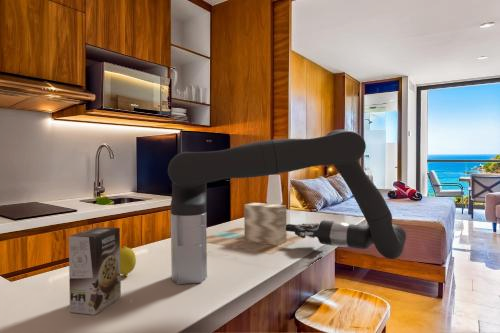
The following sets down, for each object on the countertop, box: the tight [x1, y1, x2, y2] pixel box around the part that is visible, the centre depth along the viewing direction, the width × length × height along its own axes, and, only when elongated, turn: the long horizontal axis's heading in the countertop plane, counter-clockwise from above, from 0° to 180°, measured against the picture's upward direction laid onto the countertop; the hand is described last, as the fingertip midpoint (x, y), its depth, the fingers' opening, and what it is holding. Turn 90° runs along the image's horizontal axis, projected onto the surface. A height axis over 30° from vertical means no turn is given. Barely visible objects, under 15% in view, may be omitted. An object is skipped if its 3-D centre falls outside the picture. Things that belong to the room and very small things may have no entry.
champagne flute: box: [266, 174, 283, 205], centre depth 139 cm, size 7×7×24 cm
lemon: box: [120, 245, 137, 277], centre depth 89 cm, size 6×6×8 cm
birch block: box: [243, 202, 287, 246], centre depth 119 cm, size 14×6×13 cm, turn 56°
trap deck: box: [206, 227, 304, 255], centre depth 123 cm, size 32×26×2 cm
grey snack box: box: [68, 226, 122, 316], centre depth 72 cm, size 9×6×16 cm
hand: (286, 227), depth 114 cm, fingers closed
